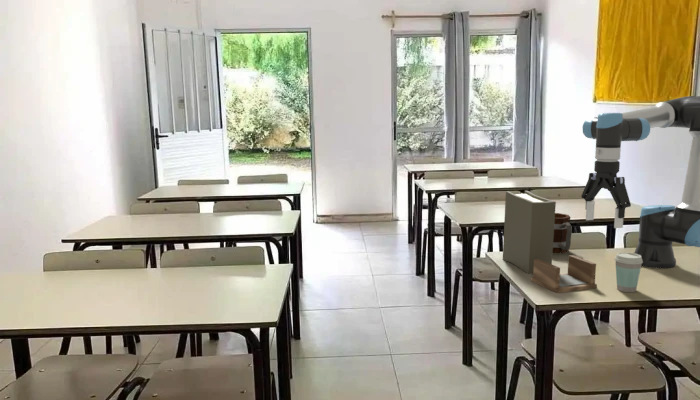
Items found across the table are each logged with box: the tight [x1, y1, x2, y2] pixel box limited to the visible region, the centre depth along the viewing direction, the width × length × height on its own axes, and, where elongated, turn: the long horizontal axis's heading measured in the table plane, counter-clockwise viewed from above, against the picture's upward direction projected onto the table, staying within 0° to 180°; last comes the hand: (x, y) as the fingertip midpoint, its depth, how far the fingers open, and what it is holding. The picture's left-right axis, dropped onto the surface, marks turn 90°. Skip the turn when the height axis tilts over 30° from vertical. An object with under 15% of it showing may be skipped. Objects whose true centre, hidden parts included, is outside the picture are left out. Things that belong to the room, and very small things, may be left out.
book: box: [502, 190, 557, 275], centre depth 222 cm, size 22×9×28 cm, turn 12°
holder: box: [530, 254, 598, 294], centre depth 200 cm, size 16×14×8 cm
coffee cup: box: [614, 252, 643, 293], centre depth 193 cm, size 8×9×12 cm
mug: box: [552, 212, 573, 255], centre depth 244 cm, size 20×14×15 cm
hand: (603, 223), depth 193 cm, fingers open, 13 cm apart
